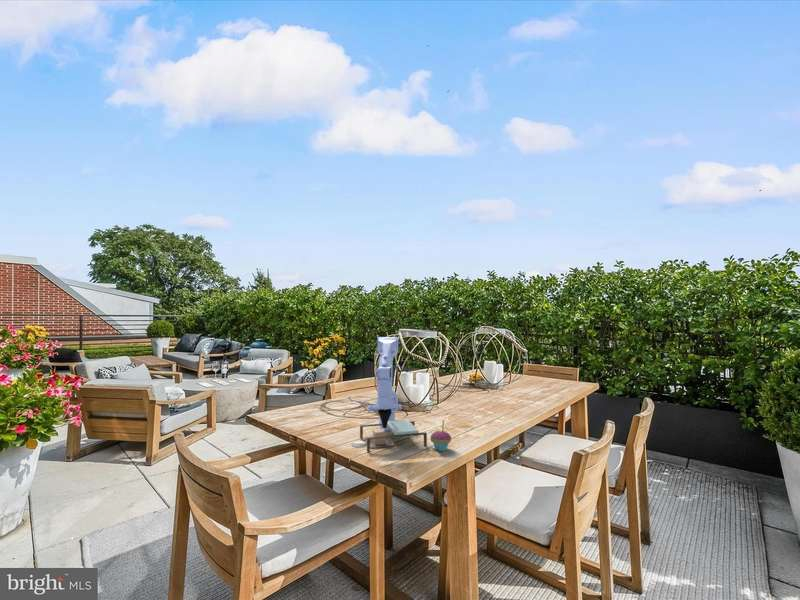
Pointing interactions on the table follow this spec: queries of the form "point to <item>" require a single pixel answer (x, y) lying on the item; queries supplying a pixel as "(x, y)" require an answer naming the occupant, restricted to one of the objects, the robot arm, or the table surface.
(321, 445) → the table surface
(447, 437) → the cupcake
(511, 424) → the table surface
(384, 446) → the puzzle board
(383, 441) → the block
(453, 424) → the table surface
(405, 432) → the slide cover
